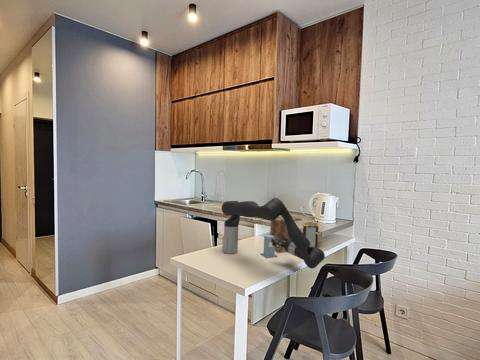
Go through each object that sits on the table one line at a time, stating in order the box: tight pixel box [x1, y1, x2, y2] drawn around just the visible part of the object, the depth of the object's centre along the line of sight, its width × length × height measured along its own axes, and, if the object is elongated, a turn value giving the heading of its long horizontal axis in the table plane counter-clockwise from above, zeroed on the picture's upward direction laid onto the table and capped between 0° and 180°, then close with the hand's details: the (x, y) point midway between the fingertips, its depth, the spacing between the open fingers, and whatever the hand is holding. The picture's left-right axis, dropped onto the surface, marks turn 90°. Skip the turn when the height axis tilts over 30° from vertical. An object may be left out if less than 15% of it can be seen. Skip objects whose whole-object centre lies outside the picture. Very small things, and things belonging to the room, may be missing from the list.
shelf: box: [269, 215, 303, 254], centre depth 191 cm, size 18×11×22 cm, turn 116°
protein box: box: [302, 221, 319, 248], centre depth 205 cm, size 10×15×16 cm
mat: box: [260, 252, 278, 259], centre depth 177 cm, size 8×8×1 cm
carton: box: [263, 234, 276, 256], centre depth 176 cm, size 5×5×12 cm
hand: (277, 239), depth 169 cm, fingers open, 8 cm apart
